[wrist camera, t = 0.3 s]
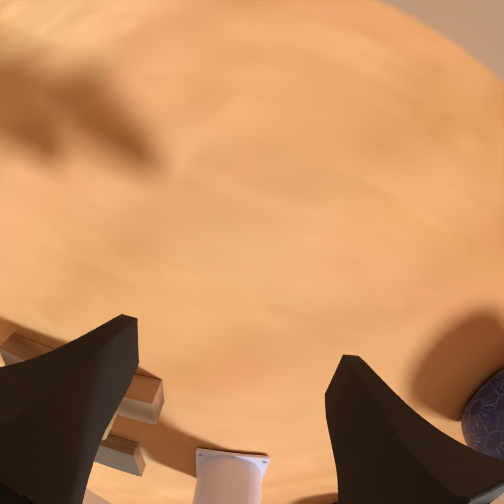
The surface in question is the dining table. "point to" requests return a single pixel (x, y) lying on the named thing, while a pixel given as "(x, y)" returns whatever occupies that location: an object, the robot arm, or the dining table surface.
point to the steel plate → (121, 455)
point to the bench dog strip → (133, 403)
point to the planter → (486, 418)
